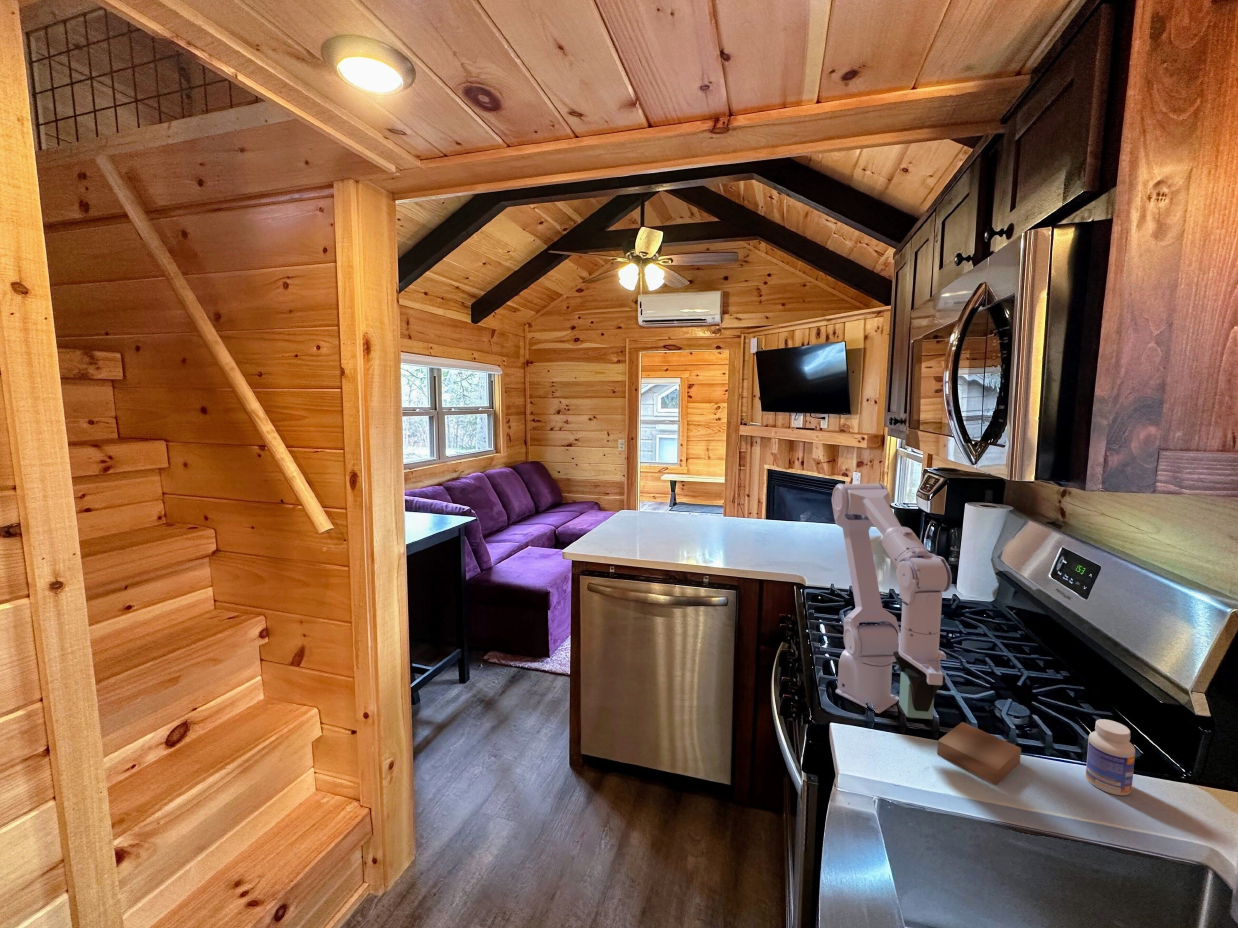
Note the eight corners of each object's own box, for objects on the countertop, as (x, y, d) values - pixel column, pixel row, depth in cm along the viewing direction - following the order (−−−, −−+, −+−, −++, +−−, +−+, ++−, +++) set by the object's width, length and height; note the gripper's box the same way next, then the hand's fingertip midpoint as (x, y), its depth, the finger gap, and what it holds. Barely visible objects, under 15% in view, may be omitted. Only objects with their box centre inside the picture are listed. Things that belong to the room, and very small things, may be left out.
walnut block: (936, 756, 92) (937, 740, 91) (961, 737, 97) (962, 721, 97) (996, 787, 84) (998, 769, 84) (1019, 764, 90) (1021, 747, 89)
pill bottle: (1133, 801, 80) (1140, 742, 79) (1086, 786, 84) (1092, 729, 82) (1128, 780, 85) (1134, 723, 83) (1083, 767, 88) (1088, 712, 87)
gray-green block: (907, 716, 91) (908, 683, 90) (899, 703, 94) (900, 671, 94) (932, 718, 90) (934, 685, 89) (923, 705, 94) (925, 673, 93)
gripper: (966, 648, 82) (960, 730, 84) (929, 611, 97) (924, 681, 98) (916, 645, 84) (912, 726, 85) (887, 609, 98) (883, 678, 100)
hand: (916, 702), depth 92 cm, fingers closed on gray-green block, 4 cm apart
